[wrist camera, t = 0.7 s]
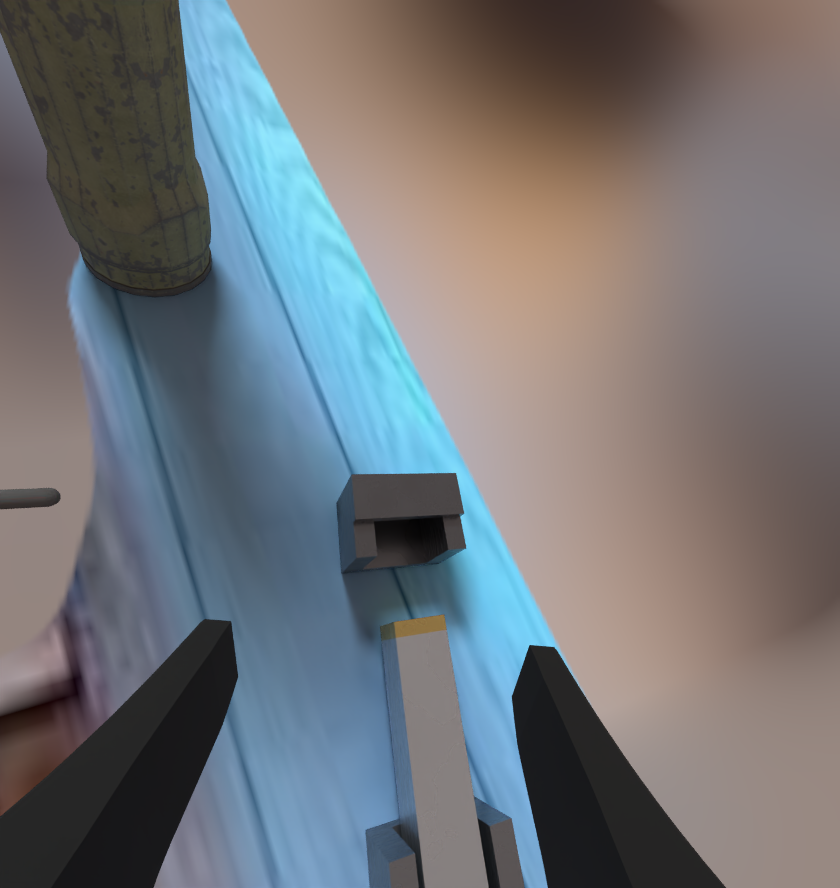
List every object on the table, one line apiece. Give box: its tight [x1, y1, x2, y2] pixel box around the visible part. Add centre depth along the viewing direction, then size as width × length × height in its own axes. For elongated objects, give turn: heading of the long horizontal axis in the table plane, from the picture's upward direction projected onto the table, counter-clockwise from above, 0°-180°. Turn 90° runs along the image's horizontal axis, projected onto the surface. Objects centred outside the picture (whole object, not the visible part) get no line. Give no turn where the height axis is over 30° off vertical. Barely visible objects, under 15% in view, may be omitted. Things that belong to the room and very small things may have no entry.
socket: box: [337, 473, 466, 573], centre depth 27 cm, size 5×7×5 cm
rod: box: [380, 615, 489, 888], centre depth 21 cm, size 18×3×3 cm, turn 9°
